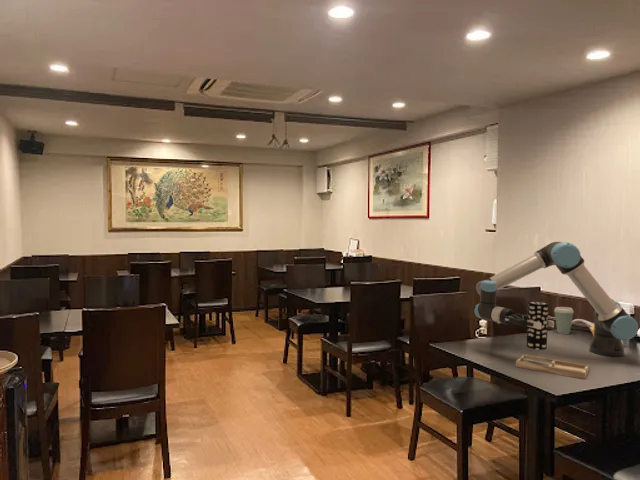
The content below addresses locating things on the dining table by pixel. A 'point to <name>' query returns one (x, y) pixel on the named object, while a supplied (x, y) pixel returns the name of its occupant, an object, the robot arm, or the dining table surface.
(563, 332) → the disposable coffee cup
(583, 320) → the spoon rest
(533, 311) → the spotted tube
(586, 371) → the tray
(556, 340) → the dining table surface
